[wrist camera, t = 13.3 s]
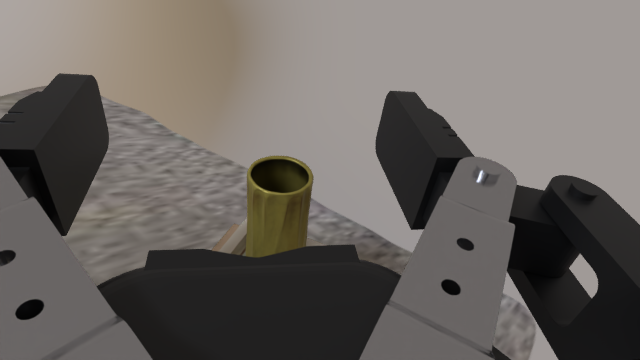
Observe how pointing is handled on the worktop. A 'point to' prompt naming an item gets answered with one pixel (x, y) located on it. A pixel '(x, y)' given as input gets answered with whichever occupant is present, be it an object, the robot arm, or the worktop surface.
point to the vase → (277, 205)
